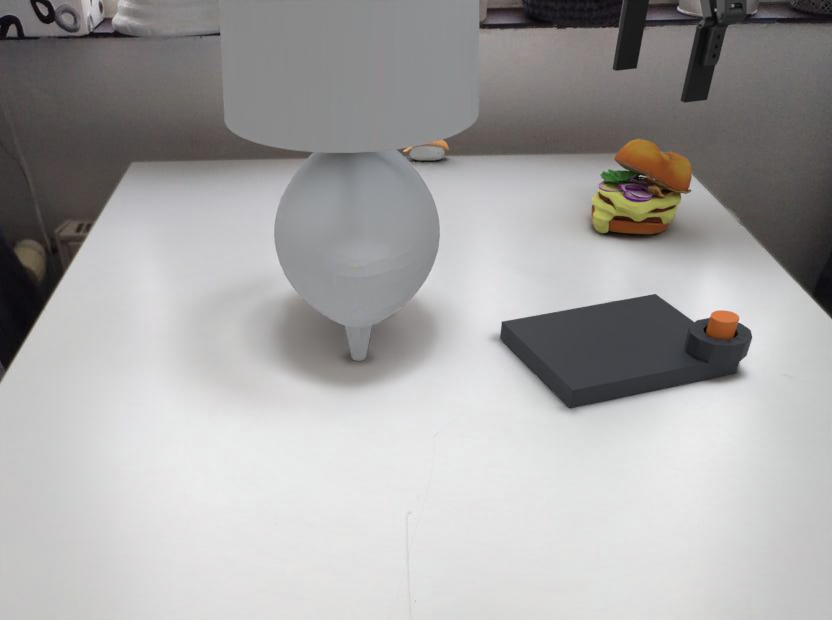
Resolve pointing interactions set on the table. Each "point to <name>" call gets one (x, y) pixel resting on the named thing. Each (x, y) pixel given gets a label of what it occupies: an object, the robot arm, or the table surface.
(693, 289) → the table surface
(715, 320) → the tare button
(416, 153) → the sushi
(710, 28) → the robot arm
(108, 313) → the table surface
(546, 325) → the scale
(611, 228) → the cheeseburger
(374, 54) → the table lamp
